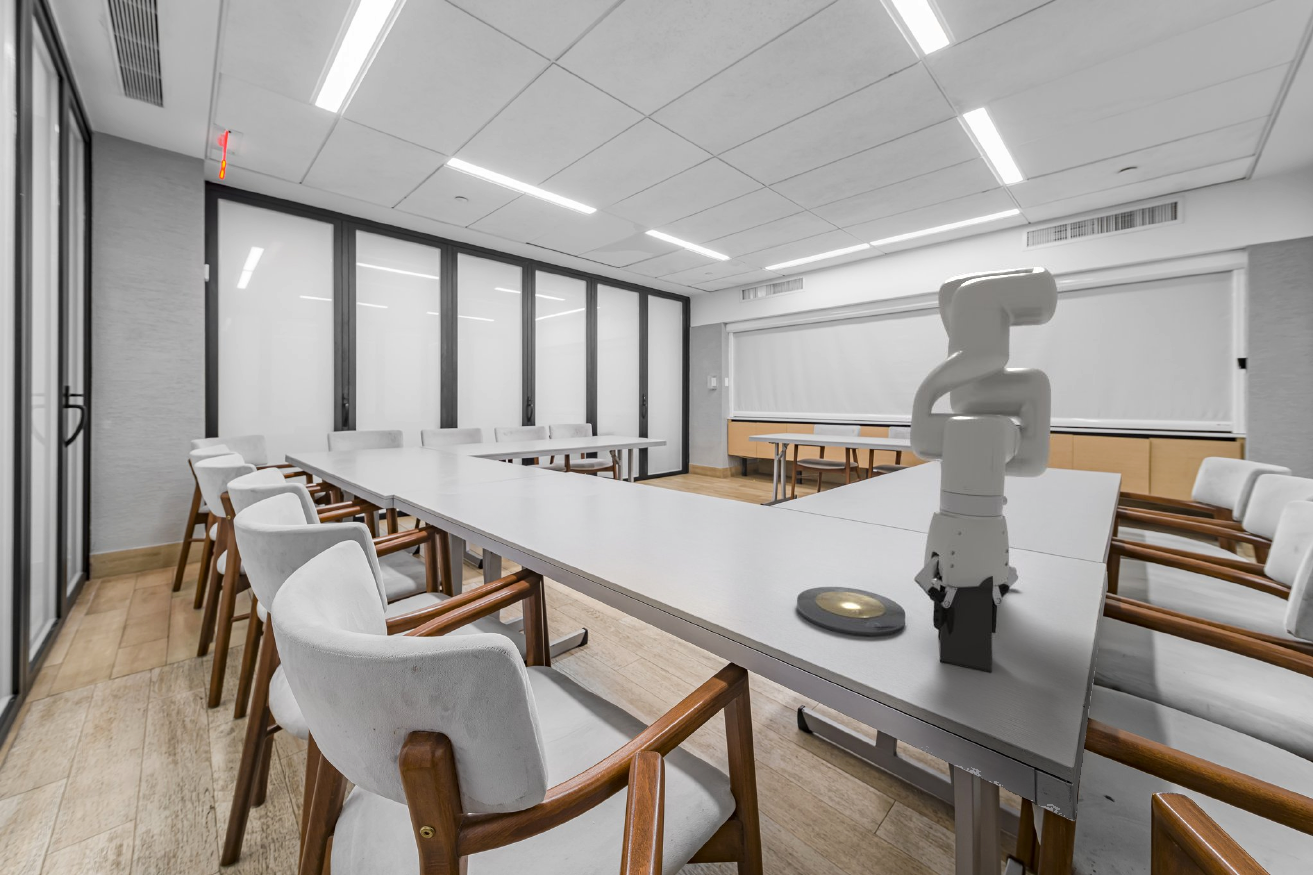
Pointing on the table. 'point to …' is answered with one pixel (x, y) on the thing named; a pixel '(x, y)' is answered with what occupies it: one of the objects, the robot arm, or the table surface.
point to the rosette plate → (851, 611)
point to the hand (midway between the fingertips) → (964, 629)
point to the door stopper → (969, 628)
